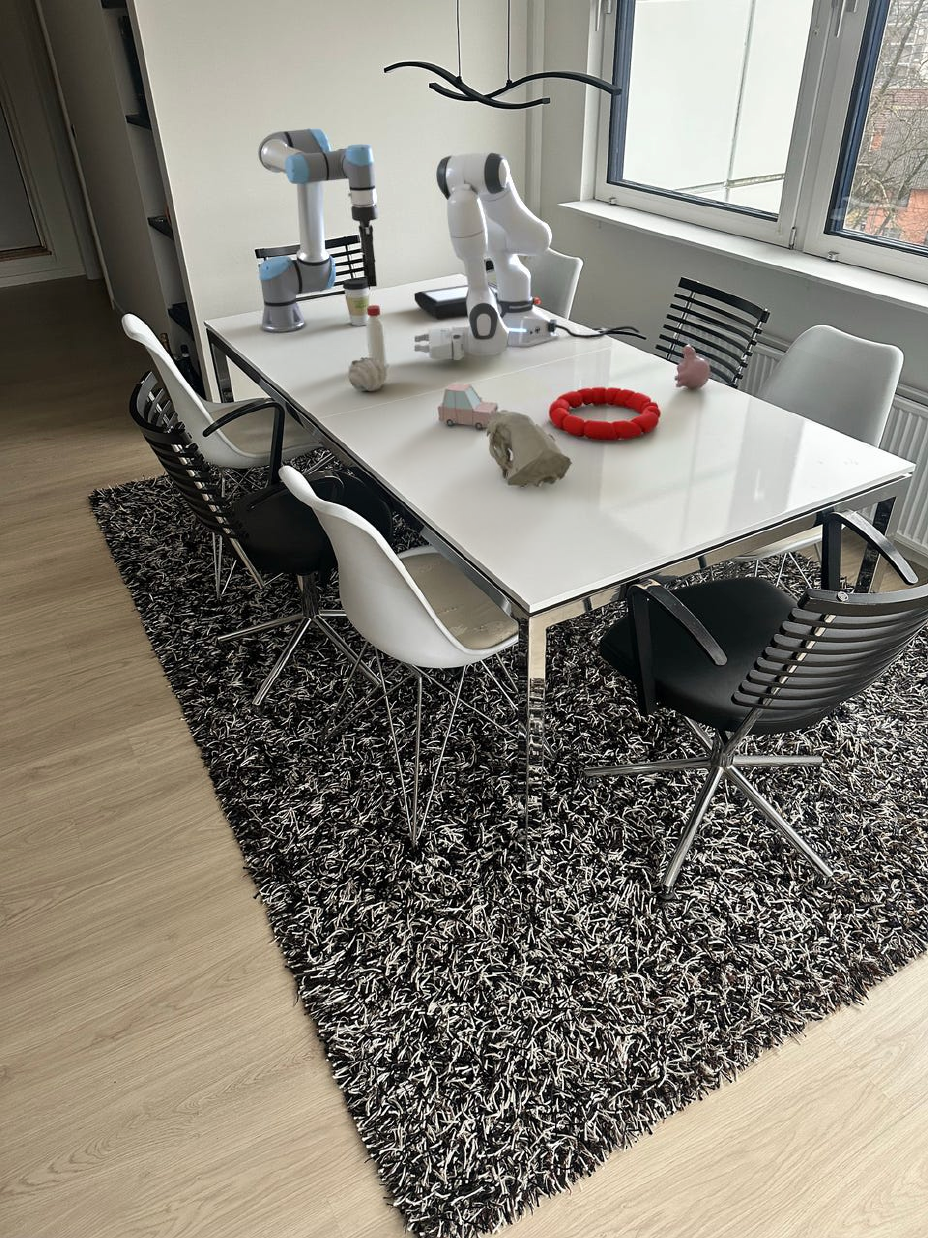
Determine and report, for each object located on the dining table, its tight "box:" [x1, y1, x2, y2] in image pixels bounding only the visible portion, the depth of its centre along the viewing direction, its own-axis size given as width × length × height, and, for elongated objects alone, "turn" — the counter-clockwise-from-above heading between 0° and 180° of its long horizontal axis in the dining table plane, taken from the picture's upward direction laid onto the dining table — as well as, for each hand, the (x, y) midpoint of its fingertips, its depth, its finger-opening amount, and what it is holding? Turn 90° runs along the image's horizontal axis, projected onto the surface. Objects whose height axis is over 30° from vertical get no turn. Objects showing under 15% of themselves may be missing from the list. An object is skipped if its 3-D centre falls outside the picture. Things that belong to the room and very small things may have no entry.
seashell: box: [347, 356, 388, 392], centre depth 266 cm, size 10×15×10 cm
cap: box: [367, 304, 381, 317], centre depth 278 cm, size 4×4×2 cm
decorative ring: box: [548, 386, 661, 442], centre depth 242 cm, size 7×30×30 cm
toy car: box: [437, 382, 499, 431], centre depth 243 cm, size 9×15×10 cm, turn 70°
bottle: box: [365, 315, 388, 367], centre depth 282 cm, size 6×6×18 cm
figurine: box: [674, 344, 711, 390], centre depth 259 cm, size 9×11×12 cm
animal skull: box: [485, 409, 573, 489], centre depth 216 cm, size 17×25×20 cm
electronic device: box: [413, 281, 497, 320], centre depth 337 cm, size 32×6×20 cm
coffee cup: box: [342, 277, 370, 327], centre depth 323 cm, size 10×10×15 cm
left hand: (370, 281), depth 273 cm, fingers open, 12 cm apart
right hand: (414, 343), depth 284 cm, fingers open, 8 cm apart
